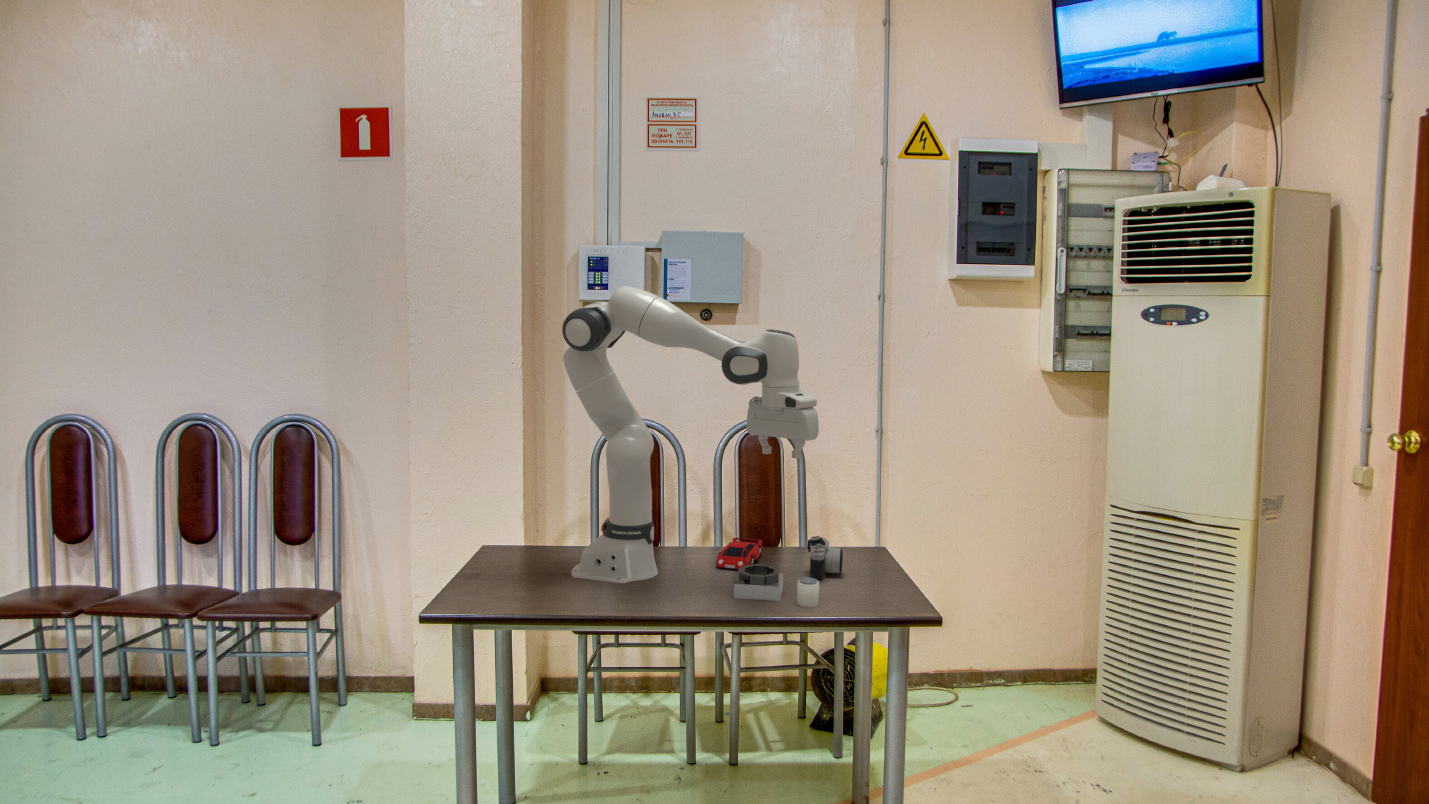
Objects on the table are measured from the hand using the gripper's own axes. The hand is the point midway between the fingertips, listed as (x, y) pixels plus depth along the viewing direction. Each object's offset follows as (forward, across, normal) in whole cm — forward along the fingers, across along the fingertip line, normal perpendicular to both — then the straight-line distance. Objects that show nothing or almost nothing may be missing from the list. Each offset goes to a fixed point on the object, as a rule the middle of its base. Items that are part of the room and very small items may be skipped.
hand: (781, 455), depth 187 cm
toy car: (+34, -27, +12) cm, 45 cm away
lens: (+34, +9, -2) cm, 36 cm away
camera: (+35, -3, +19) cm, 40 cm away
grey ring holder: (+34, -4, -5) cm, 34 cm away
